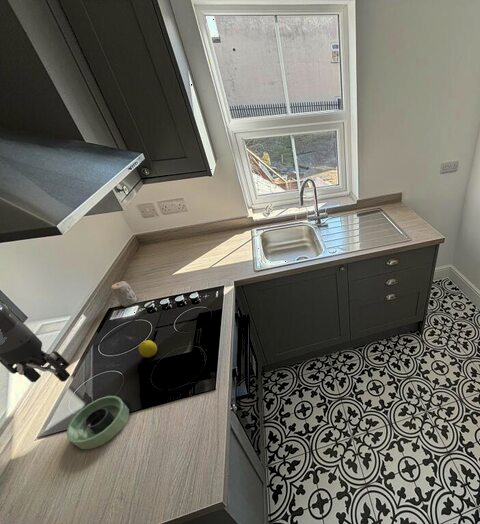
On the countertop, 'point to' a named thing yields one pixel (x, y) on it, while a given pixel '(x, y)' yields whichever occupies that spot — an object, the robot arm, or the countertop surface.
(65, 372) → the robot arm
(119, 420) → the big bowl
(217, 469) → the countertop surface
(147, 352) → the lemon
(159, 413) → the countertop surface
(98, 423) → the small bowl
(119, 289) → the carving
